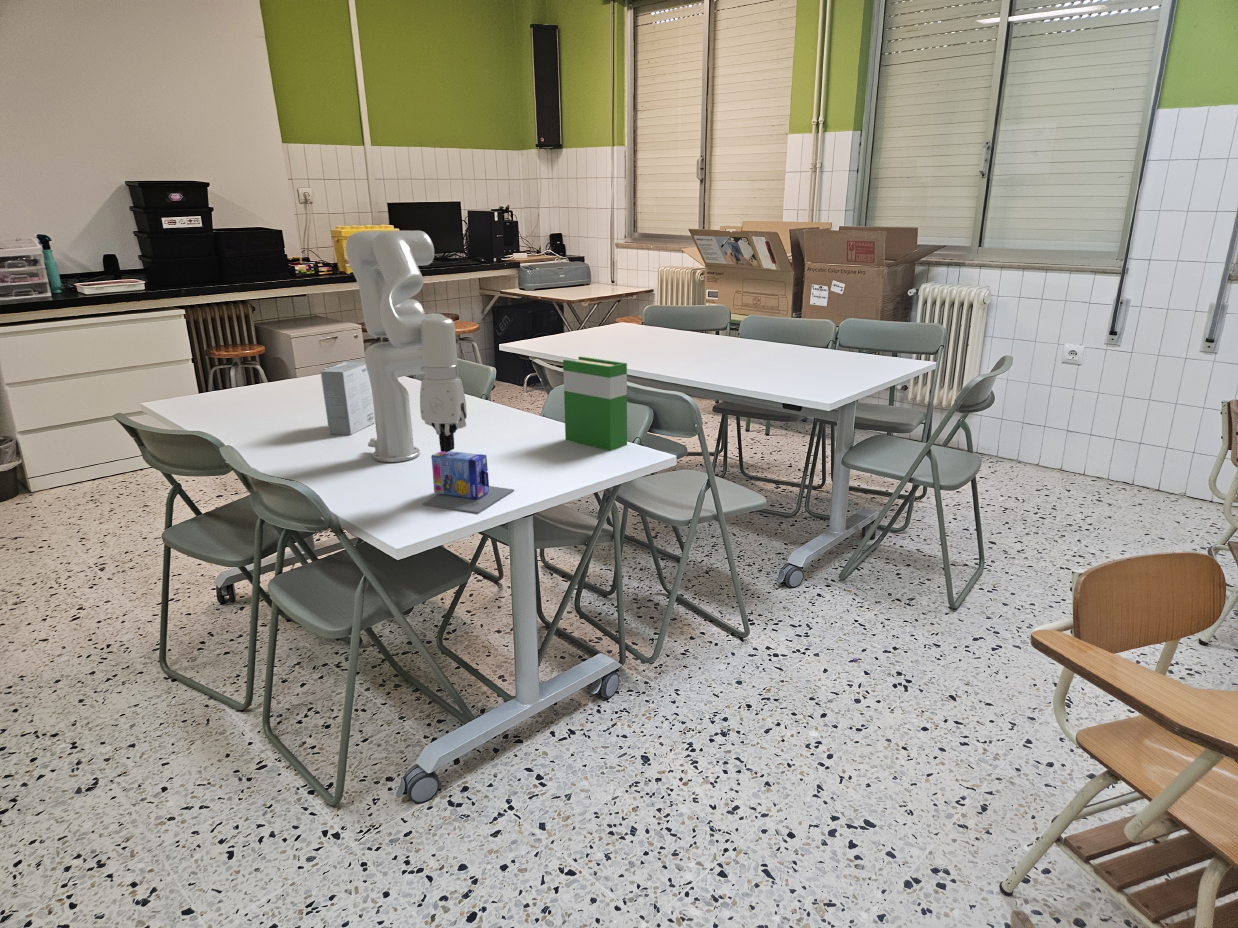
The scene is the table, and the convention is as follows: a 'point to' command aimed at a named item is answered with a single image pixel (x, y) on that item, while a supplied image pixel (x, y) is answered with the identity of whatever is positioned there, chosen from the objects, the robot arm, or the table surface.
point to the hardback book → (595, 402)
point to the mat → (469, 500)
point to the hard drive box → (347, 398)
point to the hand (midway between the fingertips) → (447, 450)
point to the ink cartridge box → (460, 474)
